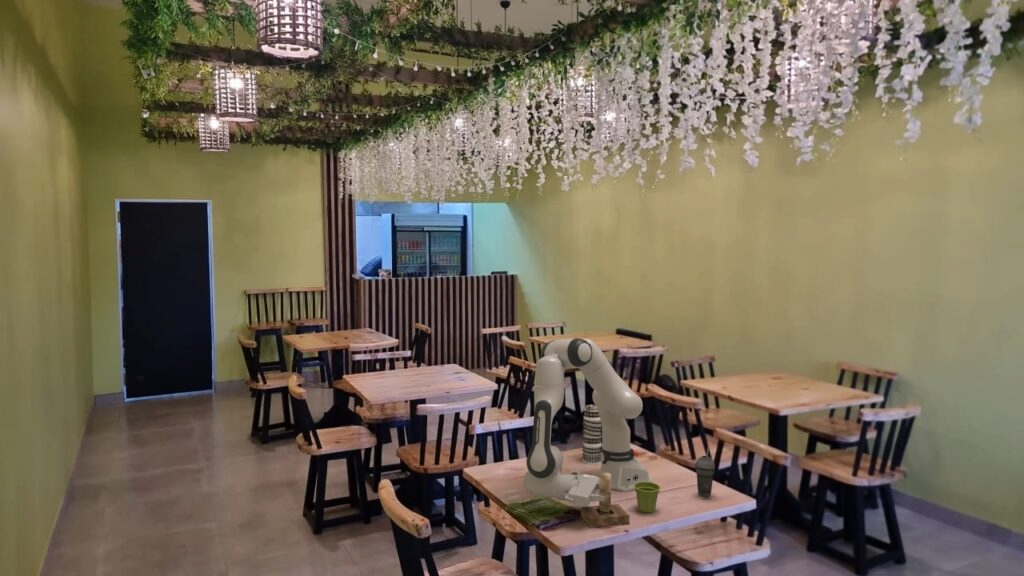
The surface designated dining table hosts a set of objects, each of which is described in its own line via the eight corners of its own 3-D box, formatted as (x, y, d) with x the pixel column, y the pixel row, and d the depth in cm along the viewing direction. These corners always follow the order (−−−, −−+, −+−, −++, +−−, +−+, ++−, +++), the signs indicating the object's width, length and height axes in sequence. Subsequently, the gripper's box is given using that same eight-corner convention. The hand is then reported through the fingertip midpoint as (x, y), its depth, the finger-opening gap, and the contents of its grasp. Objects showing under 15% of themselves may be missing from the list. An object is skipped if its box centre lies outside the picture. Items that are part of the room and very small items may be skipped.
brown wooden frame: (618, 512, 227) (618, 504, 227) (629, 524, 218) (629, 515, 217) (580, 515, 224) (580, 507, 224) (590, 527, 214) (590, 519, 214)
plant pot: (664, 513, 227) (665, 489, 226) (641, 516, 224) (641, 492, 223) (651, 503, 236) (652, 480, 235) (628, 506, 233) (629, 482, 232)
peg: (608, 516, 223) (608, 472, 222) (612, 521, 219) (612, 476, 218) (597, 517, 222) (597, 472, 221) (601, 522, 218) (601, 476, 218)
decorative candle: (605, 464, 278) (606, 407, 277) (585, 465, 277) (586, 408, 275) (598, 457, 287) (599, 402, 286) (579, 458, 286) (579, 403, 284)
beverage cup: (700, 491, 248) (701, 440, 247) (717, 496, 243) (719, 445, 241) (690, 496, 243) (692, 444, 241) (708, 501, 237) (709, 449, 236)
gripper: (561, 489, 215) (601, 495, 210) (576, 470, 234) (613, 474, 229) (560, 507, 215) (601, 513, 210) (575, 486, 234) (613, 491, 230)
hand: (607, 493), depth 220 cm, fingers open, 8 cm apart
